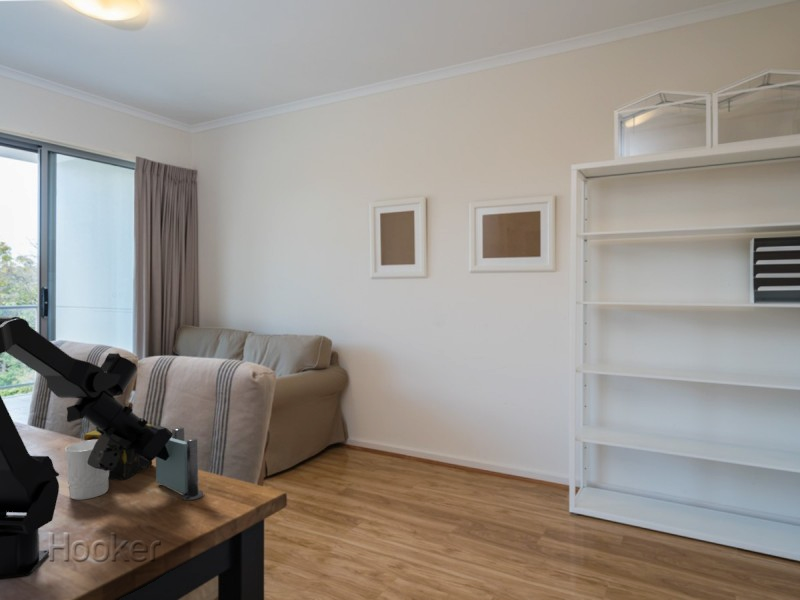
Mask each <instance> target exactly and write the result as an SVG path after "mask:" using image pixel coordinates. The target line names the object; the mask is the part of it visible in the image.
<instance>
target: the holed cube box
mask: <svg viewBox="0 0 800 600" xmlns="http://www.w3.org/2000/svg"><path fill="white" fill-rule="evenodd" d="M146 425H148V426H150V427H151V426H153V425H152V424H149V423H147V424H146ZM96 430H97V429H95V430H92V431H90V432H86V433H84V434H83V439H84V441H87V440H96V439H99V437H100V435H101V434H100V433H99V432H97V431H96ZM120 454H121V455H120V458H119V460H118V462H117V464H116V466H115V468H114V469H113V470H112V471H109V477H108V479H110V480H113V479H115V480H116V479H118V480H117V481H125V480H127V479H129V478H131V477H133V476H134V474H135V475H137V474H139V473H140V472H141V470H142V471H144V470H146V469H147V468H149V467H151V466H152V465H153V460H152V461H147V460H145V459H143V458H141V457H139V456H137V455H134V449H133V450H128V451H126V450H124V449H122V450H121V453H120ZM143 469H144V470H143ZM138 472H139V473H138ZM132 475H133V476H132Z"/></svg>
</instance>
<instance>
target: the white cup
mask: <svg viewBox="0 0 800 600" xmlns="http://www.w3.org/2000/svg"><path fill="white" fill-rule="evenodd" d="M97 440H98V439H96V440H87V441H85V440H81V441H79V442H74V443H71V444H69V445H67V446H66V447H65V448H64V451H65V466H66V476H67V484H68V489H69V497H70V499H73V500H81V501H82V500H88V499H94V498H96V497H100V496H102V495H104V494H106V493H107V492H108V490H109V479H108V477H109V471H105V470H102V469H97V468H94V467H92V466H90V465H88V463H87V462H88V458H89V456H90V454H91V452H92V450H93V448H94V445H95V443H96V442H97Z"/></svg>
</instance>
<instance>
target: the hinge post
mask: <svg viewBox="0 0 800 600" xmlns="http://www.w3.org/2000/svg"><path fill="white" fill-rule="evenodd" d="M186 442H187V490H188V492H187V493H185V494H183V495H182V496H181V498H182V501H186V502H187V501H188V502H192V501H196V500H199V499H202V498H203V497H204V492H203V490H202V491H201V490H199V464H198V463H199V461H198V459H199V456H198V455H199V454H198V451H199V450H198V448H199V447H198V438H188V439H187V440H186Z"/></svg>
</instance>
